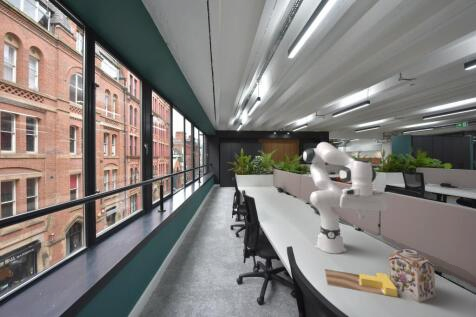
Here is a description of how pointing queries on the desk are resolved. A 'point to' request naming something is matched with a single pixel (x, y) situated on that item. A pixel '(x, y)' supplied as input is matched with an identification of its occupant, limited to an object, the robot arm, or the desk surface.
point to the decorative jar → (412, 274)
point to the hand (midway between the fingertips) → (362, 218)
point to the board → (351, 282)
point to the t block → (379, 283)
